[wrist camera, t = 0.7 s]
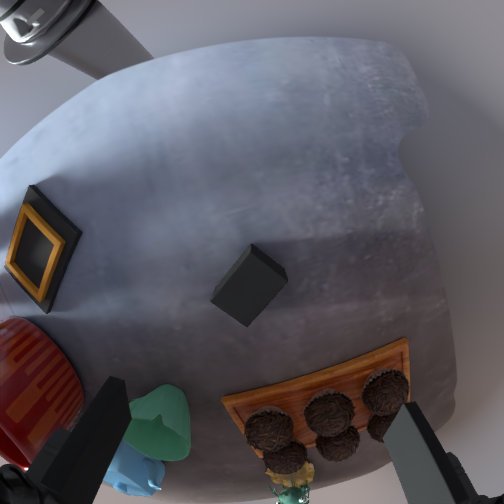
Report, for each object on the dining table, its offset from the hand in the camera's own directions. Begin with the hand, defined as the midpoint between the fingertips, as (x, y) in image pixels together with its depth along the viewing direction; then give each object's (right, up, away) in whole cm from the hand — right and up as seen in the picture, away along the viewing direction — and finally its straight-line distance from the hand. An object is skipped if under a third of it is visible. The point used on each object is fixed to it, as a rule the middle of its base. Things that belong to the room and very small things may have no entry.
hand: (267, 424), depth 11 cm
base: (-33, +8, +22) cm, 40 cm away
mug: (-16, -15, +28) cm, 35 cm away
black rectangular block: (-1, +5, +22) cm, 23 cm away
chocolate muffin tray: (+11, -17, +27) cm, 34 cm away
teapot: (-24, -33, +32) cm, 52 cm away
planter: (-41, -14, +28) cm, 52 cm away
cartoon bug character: (+7, -36, +32) cm, 49 cm away
